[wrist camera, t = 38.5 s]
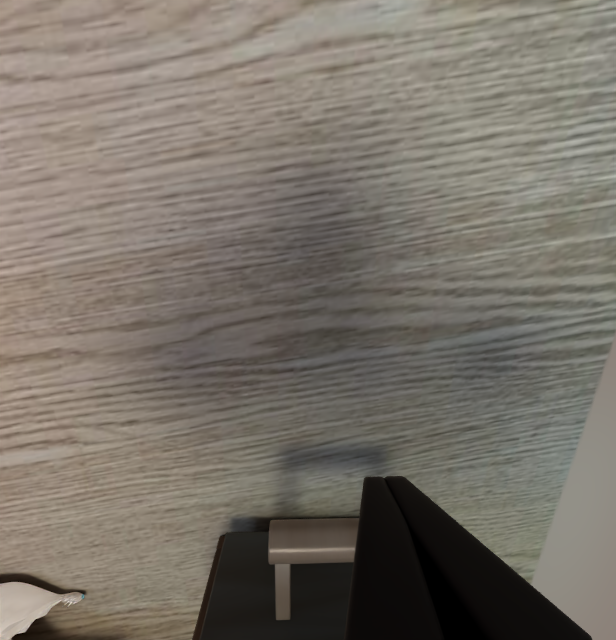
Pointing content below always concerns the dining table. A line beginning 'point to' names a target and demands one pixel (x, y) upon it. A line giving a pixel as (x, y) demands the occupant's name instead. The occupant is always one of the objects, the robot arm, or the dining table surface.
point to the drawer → (283, 582)
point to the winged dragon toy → (27, 606)
